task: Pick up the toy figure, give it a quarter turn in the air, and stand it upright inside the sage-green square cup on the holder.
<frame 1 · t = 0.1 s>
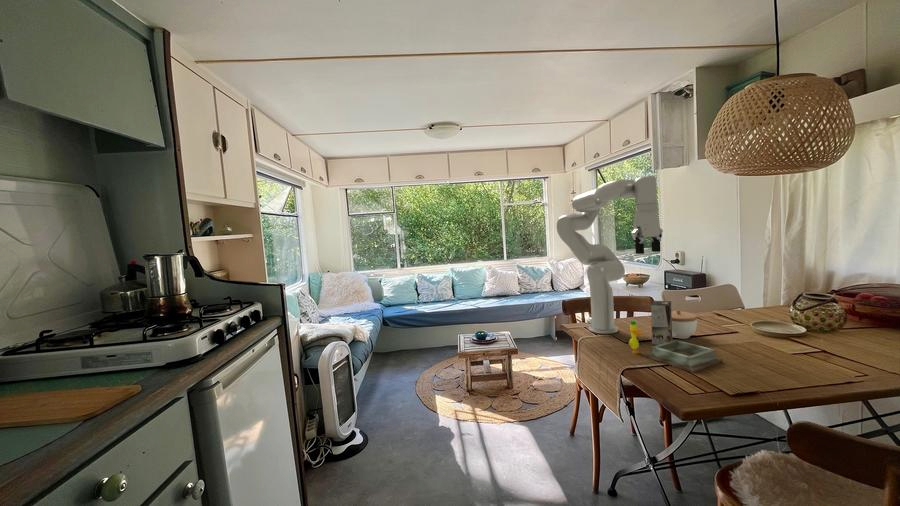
hand: (648, 252, 136), 37 cm above the table, tool pointing down, fingers open, 9 cm apart
holder: (683, 359, 122), on the table
lidded bowl: (679, 336, 145), on the table
toy figure: (635, 353, 131), on the table
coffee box: (662, 342, 140), on the table
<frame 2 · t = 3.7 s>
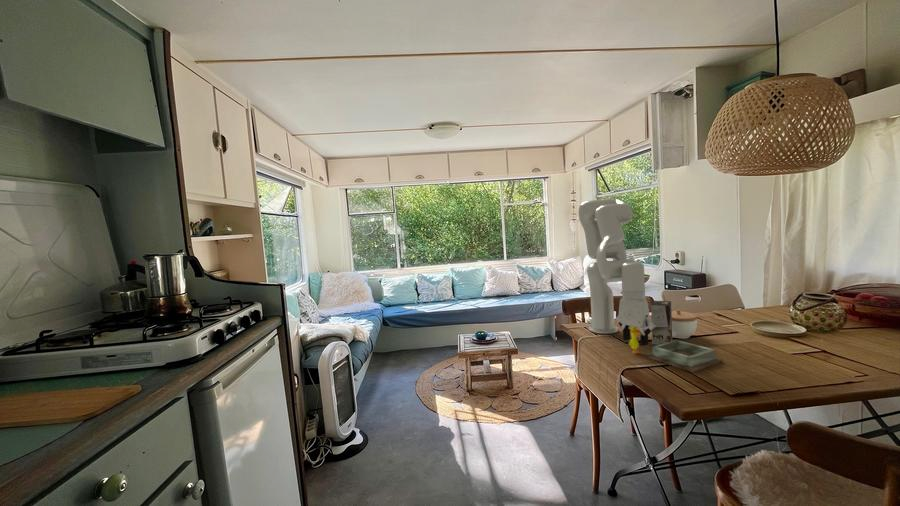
hand: (635, 341, 130), 4 cm above the table, tool pointing down, fingers closed on toy figure, 6 cm apart
toy figure: (635, 353, 131), on the table, touching gripper
everything else where it was.
when the fingers open (7 cm above the table, at t = 10.3 s): toy figure drops 1 cm, resting on holder.
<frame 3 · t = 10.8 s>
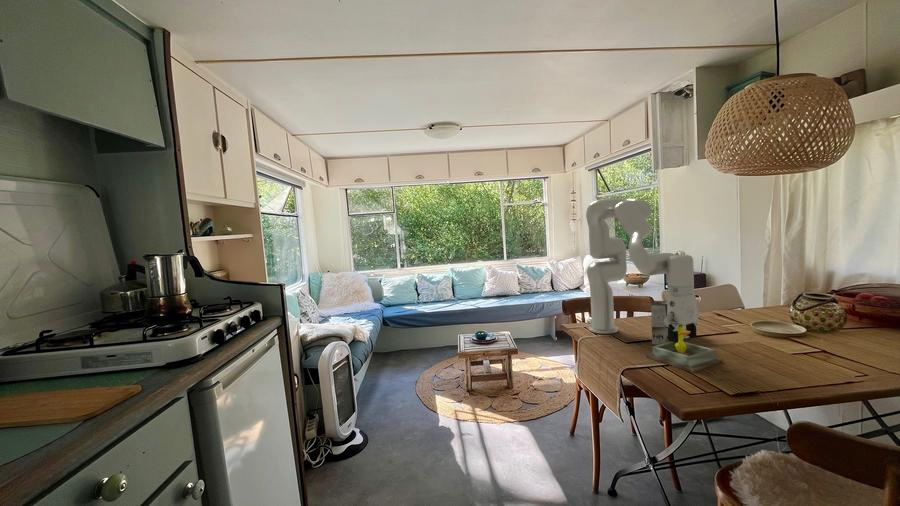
hand: (682, 339, 121), 7 cm above the table, tool pointing down, fingers open, 9 cm apart
toy figure: (683, 356, 122), point 1 cm above the table, touching holder
everything else where it was.
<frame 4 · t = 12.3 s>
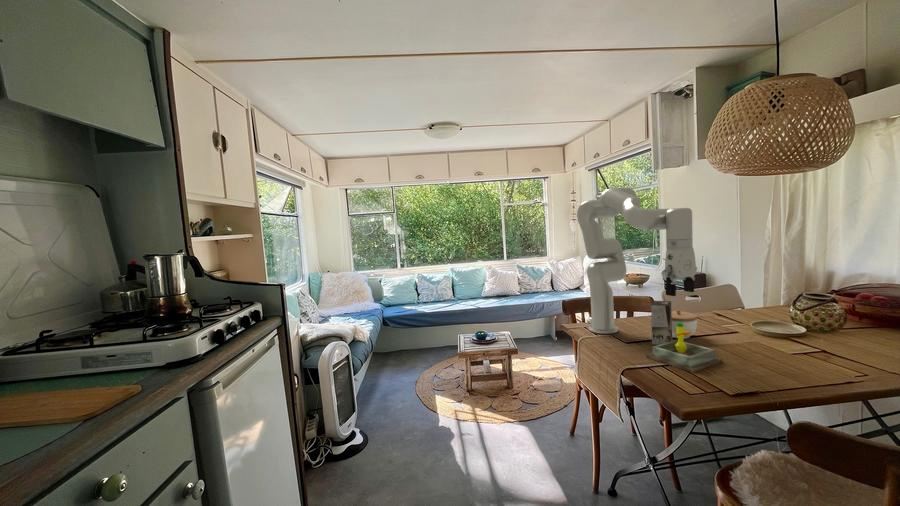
hand: (680, 293, 120), 23 cm above the table, tool pointing down, fingers open, 9 cm apart
nothing on the table moved.
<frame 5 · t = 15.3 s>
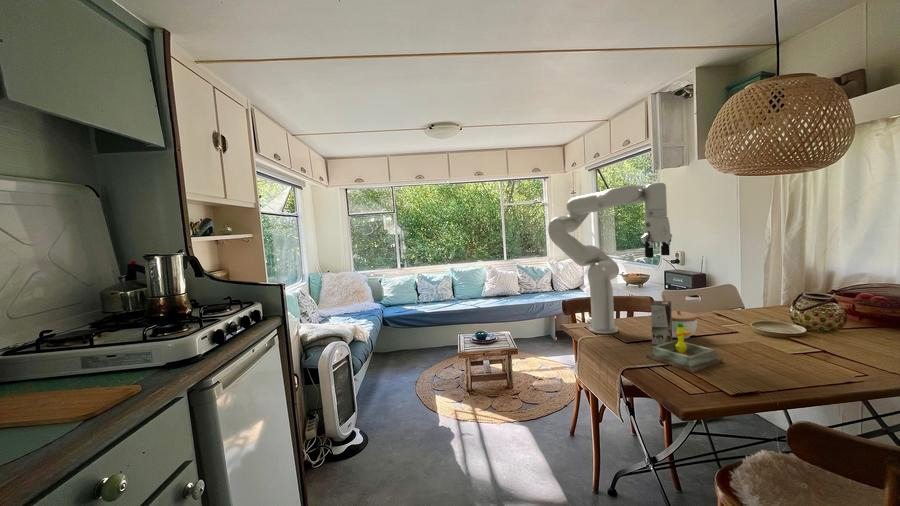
hand: (657, 256, 142), 34 cm above the table, tool pointing down, fingers open, 9 cm apart
nothing on the table moved.
at the end: toy figure 0.5 cm off-centre on the holder, point 0.8 cm above the holder's base; toy figure tilted 0°; the gripper is holding nothing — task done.
